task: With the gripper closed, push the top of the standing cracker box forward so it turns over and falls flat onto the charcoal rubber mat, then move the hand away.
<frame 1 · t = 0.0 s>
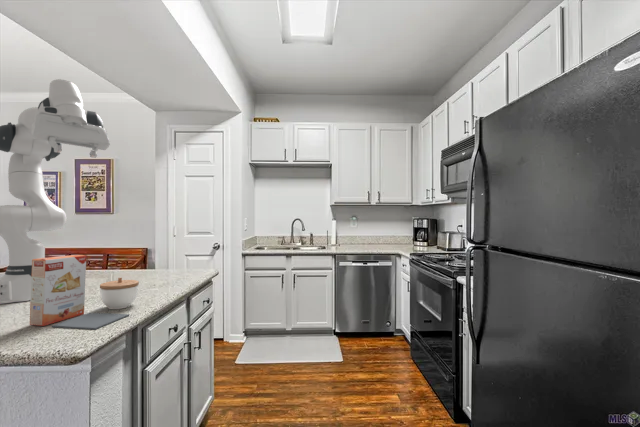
hand: (76, 154, 101), 54 cm above the countertop, tool tilted 30°, fingers open, 8 cm apart
mat: (92, 321, 104), on the countertop
lidded bowl: (119, 307, 121), on the countertop
cracker box: (58, 320, 105), on the countertop
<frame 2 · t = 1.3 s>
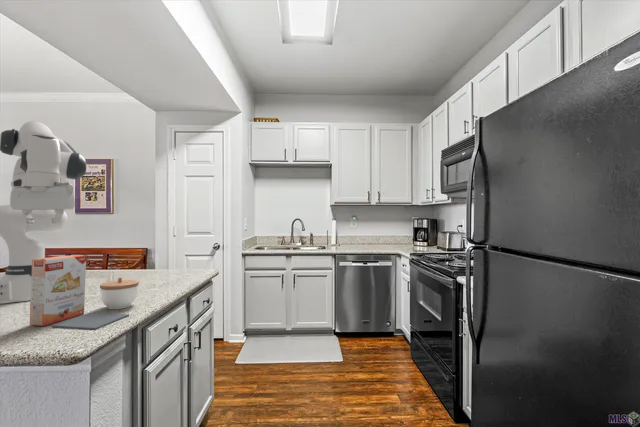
hand: (42, 223, 107), 32 cm above the countertop, tool pointing down, fingers open, 8 cm apart
nothing on the countertop moved.
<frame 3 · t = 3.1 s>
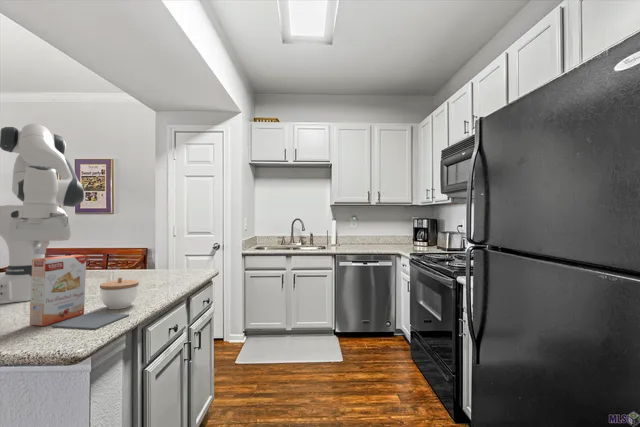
hand: (39, 254, 107), 22 cm above the countertop, tool pointing down, fingers closed
nothing on the countertop moved.
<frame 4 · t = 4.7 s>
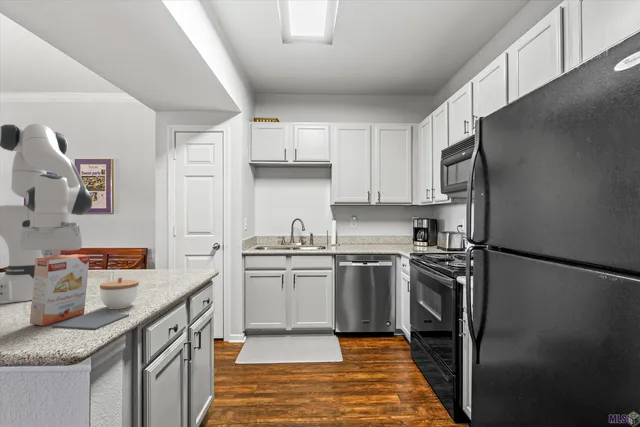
hand: (50, 263, 106), 18 cm above the countertop, tool pointing down, fingers closed
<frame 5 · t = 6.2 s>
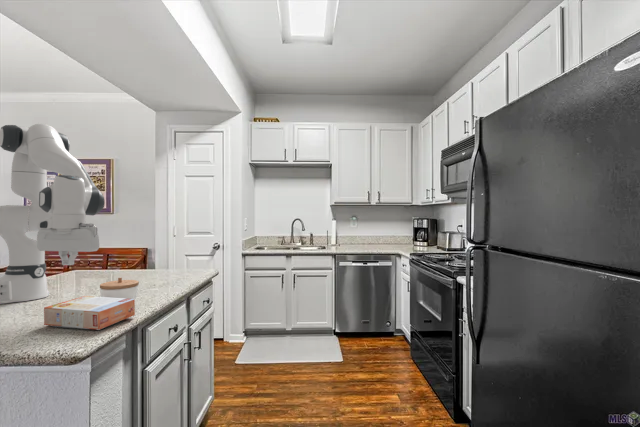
hand: (68, 264, 105), 18 cm above the countertop, tool pointing down, fingers closed
cracker box: (65, 309, 105), point 3 cm above the countertop, touching mat
everything else where it was.
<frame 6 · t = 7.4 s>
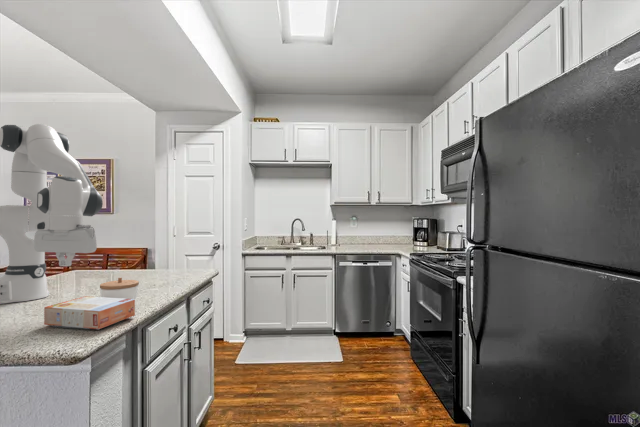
hand: (65, 266, 106), 18 cm above the countertop, tool pointing down, fingers closed
nothing on the countertop moved.
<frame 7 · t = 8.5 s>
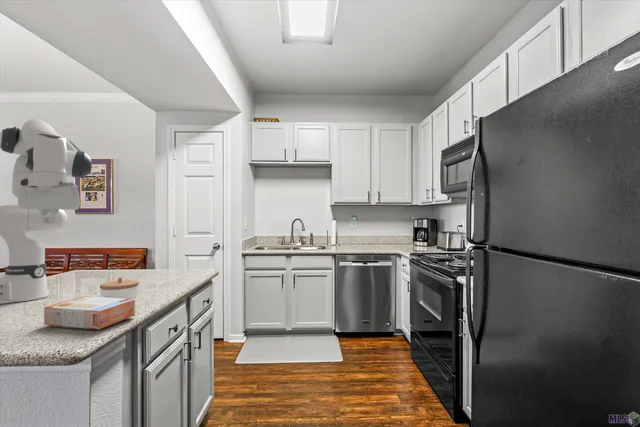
hand: (48, 223, 106), 32 cm above the countertop, tool pointing down, fingers closed
nothing on the countertop moved.
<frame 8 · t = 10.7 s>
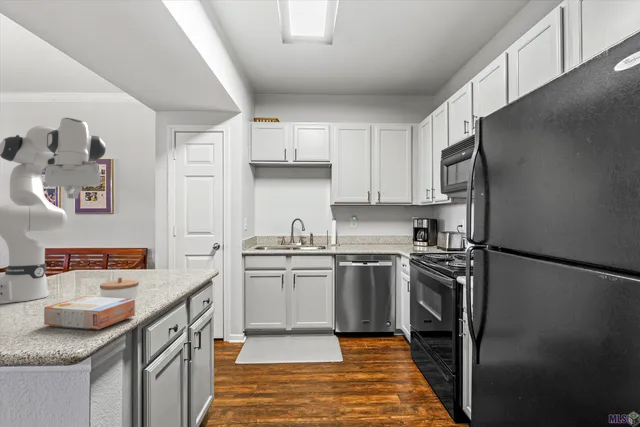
hand: (72, 198, 118), 41 cm above the countertop, tool pointing down, fingers closed
nothing on the countertop moved.
at the end: cracker box tilted 89°; cracker box inside the target area (11.6 cm from its centre), point 3.3 cm above the countertop; cracker box touching mat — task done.
